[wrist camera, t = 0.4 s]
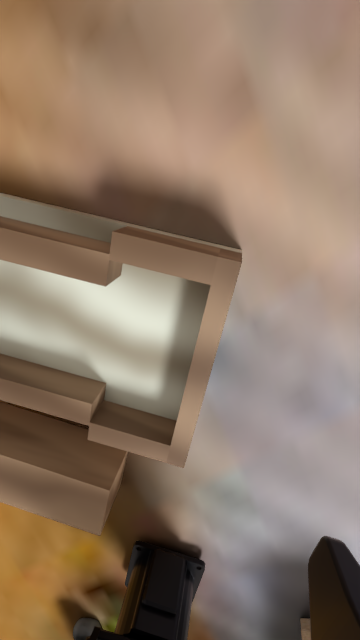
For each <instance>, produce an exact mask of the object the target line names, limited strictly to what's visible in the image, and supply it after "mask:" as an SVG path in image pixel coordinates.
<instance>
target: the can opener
mask: <svg viewBox="0 0 360 640" xmlns="http://www.w3.org/2000/svg"><path fill="white" fill-rule="evenodd" d="M94 626H98V627H101V626H100V624H99V622H98V621H97V620H95V619H92V618H81V619H79V620H78V621H77V622H76V624H75V626H74V629H73V637H74V639H75V640H85V639H86V637H87V636H91V634H92V631H93V629H94ZM101 629H102V628H101Z"/></svg>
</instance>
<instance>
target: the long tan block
mask: <svg viewBox="0 0 360 640" xmlns="http://www.w3.org/2000/svg"><path fill="white" fill-rule="evenodd" d="M88 432H89V430H87V429H84V428H81V427H78V426H75V425H72V424H69V423H66V422H62V421H59V420H56V419H53V418H50V417H47V416H44V415H41V414H37V413H34V412H31V411H28V410H25V409H22V408H19V407H16V406H12V405H9V404H6V403H3V402H0V502H2V503H5V504H8V505H11V506H14V507H17V508H19V509H22V510H25V511H28V512H31V513H34V514H37V515H40V516H43V517H46V518H49V519H52V520H55V521H57V522H60V523H63V524H66V525H69V526H72V527H75V528H78V529H81V530H84V531H87V532H90V533H93V534H95V535H98V536H100V535H101V532H102V530H103V527H104V525H105V522H106V520H107V517H108V515H109V513H110V510H111V508H112V505H113V503H114V500H115V498H116V495H117V493H118V490H119V488H120V486H121V482H122V477H123V473H124V469H125V464H126V460H127V456H128V451H124V450H121V449H117V448H114V447H111V446H107V445H104V444H100V443H97V442H94V441H90V440H88Z"/></svg>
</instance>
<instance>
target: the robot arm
mask: <svg viewBox="0 0 360 640" xmlns="http://www.w3.org/2000/svg"><path fill="white" fill-rule="evenodd" d="M204 570H205V563H204V561H202V560H199V559H196V558H193V557H190V556H187V555H184V554H181V553H177V552H174V551H171V550H168V549H165V548H162V547H158V546H155V545H152V544H149V543H146V542H143V541H135V543H134V546H133V551H132V555H131V559H130V564H129V568H128V572H127V577H126V581H125V585H126V587H127V590H126V594H125V597H124V601H123V604H122V608H121V611H120V615H119V618H118V622H117V625H116V629H115V632H114V633H113V632H110V631H106V630H102V629H101V627H98V626H94V629H93V631H92V634H91V636H87V637H86V639H85V640H187V637H188V628H189V620H190V612H191V604H192V602H193V599H194V596H195V594H196V591H197V588H198V586H199V583H200V580H201V578H202V575H203V573H204ZM308 579H309V604H310V629H311V640H360V565H359V564H358V562H357V561H356V559H355V558H354V557H353V555H352V554H351V552H350V551H349V549H348V548H347V546H346V545H345V544H344V543H343V542H342V541H340V540H338V539H334V538H331V537H328V536H324V537H322V538H321V539H320V541H319V543H318V544H317V546H316V548H315V549H314V551H313V553H312V555H311V556H310V559H309V563H308Z"/></svg>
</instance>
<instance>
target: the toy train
mask: <svg viewBox="0 0 360 640" xmlns="http://www.w3.org/2000/svg"><path fill="white" fill-rule="evenodd" d="M300 622H301V636H302V640H311V629H310V619H309V618H300Z"/></svg>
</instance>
